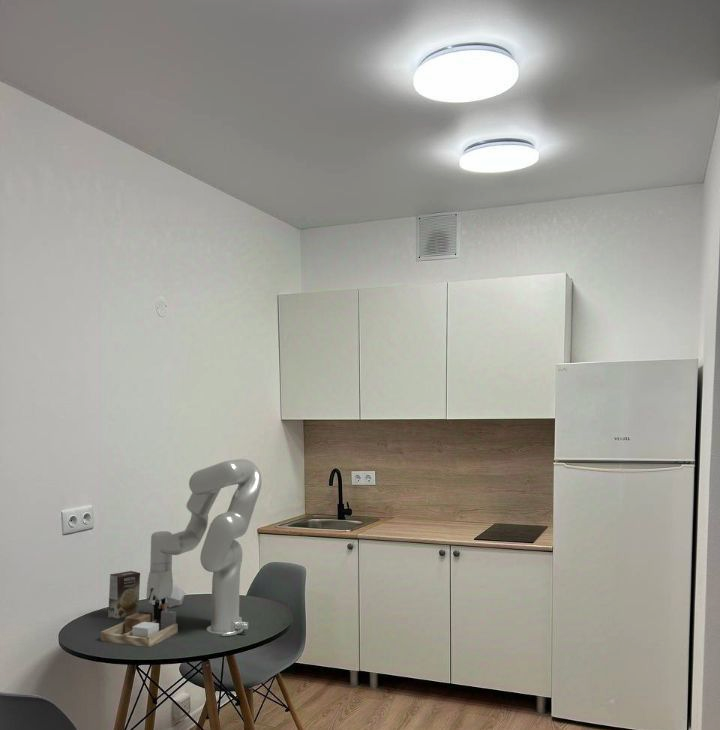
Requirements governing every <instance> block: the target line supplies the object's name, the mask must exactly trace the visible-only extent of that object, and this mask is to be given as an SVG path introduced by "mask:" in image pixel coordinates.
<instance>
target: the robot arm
mask: <svg viewBox="0 0 720 730" xmlns="http://www.w3.org/2000/svg"><path fill="white" fill-rule="evenodd" d="M261 474H262V473H261V471H260V470H259V467H258V466H257V465H256V463H254V462H253V461H252V460H249V459H244V458H239V459H231V460H225V461H221V462H219V463H216V464H214V465H210V466H208V467H205V468H202V469H199V470H197V471H195V472H193V474H192V475H191V476H190V478H189V479H188V480H189V481H188V487H189V490H190V491H191V494H190V496H189V499H188V501H187V502H186V509H187V510H188V511H189V512H190V513H191V516H190V520H189V521H188V524H187V525H186V528H185V529H184V530H182V531H179V532H176V533H172V532H171V531H165V530H164V531H163V530H162V531H154V532H153V533H152V534H151V536H150V567H149V568H150V569H149V574H148V577H147V583H146V584H147V586H146V600H147V601H148V600H149V601H148V604H149V605H150V606H151V605H152V609H153V608H154V619H157V620H161V612H162V608H161V603H162V604H167V601H168V599H169V598H170V597H171V594H172V590H173V585H174V583H173V582H174V581H173V569H172V568H173V556H178V555H181V554H184V553H187V552H190V551H193V550H194V549H196V548H197V547H198V546H199V544H200V543H201V542H202V539H203V537H204V535H205V533H206V536H205V539H204V541H203V544H202V548H201V552H200V556H199V557H200V564H201V566H202V568H203V569H204V570H205V571H207V572H211V573H212V579H211V614H210V615H211V617H210V618H211V622H210V624H211V625H209V626H207V627H206V631H207V632H209V633H211V634H218V635H219V637H229V636H235V635H238V634H241V633H242V632H244V630H248V629H249V621H243V620H242V619H243V618H242V616H240V582H241V581H240V580H241V567H242V561H243V548H242V545H241V544H240V542H239V541H238V540H236V539H238V538H241V537H243V536H244V535H245V534H246V532H247V531H248V529H249V525H250V522H251V520H252V518H253V517H252V516H253V513H254V510H255V506H256V503H257V502H258V501H257V500H258V497H259V495H260V492H261V489H262V481H263V479H262V475H261ZM234 485H237V488H236V489H235V491H234V493H233V495H232V497H231V501H230V503H229V506H228V508H227V510H226V511H225V512H223V513H220V514H218V515H217V516H215V517H214V518H213V520H212V521H211V522H210V525H209V527H208V524H209V523H208V522H209V513H210V511H211V509H212V508H213V505H214V503H215V502H216V499H217V498H218V496H219V493H220V491H221V490H222V489H223V488H226V487H230V486H234ZM207 528H208V530H207ZM206 531H207V532H206Z"/></svg>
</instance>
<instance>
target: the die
mask: <svg viewBox="0 0 720 730" xmlns="http://www.w3.org/2000/svg"><path fill="white" fill-rule="evenodd" d="M185 595H186V592H185V590H184V589H182V588H181V586H180V585H178V583H177V584H173V590H172V594H171V597H170V598H169V599H168V601H167V608H169V609H170V608H173V607H179V606H181V605H182V603H183V601H184V599H185V598H184V597H185Z"/></svg>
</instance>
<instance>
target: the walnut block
mask: <svg viewBox="0 0 720 730" xmlns="http://www.w3.org/2000/svg"><path fill="white" fill-rule="evenodd" d="M161 608H162V611H168V606H167V604H162V603H161ZM151 619H152V621H156V623H161V620H157V619H154V608H153V607H152V618H151V614H145V613H140V612H139V613H135V614H133V615H130V616H126V617H124V622H125V632H124V634H125V633H128V632H130V631H132V627H133V626H135V625H138V624H140V623H142V622H151Z"/></svg>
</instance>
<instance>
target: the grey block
mask: <svg viewBox="0 0 720 730" xmlns="http://www.w3.org/2000/svg"><path fill="white" fill-rule="evenodd" d="M150 622H151V621H150ZM150 622H142V623H140V624H138V625H135V626H133V627H132V636H135V637H143V638H146V637H148V636H150V635H152V634H154V633H156V632H158V631H160V630H162V629H165V628H167V627H169V626H171V625H173V624H177V612H176V611H172V610H171V611H170V610H167V611H162V612H161V622H157V623H150Z"/></svg>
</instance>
